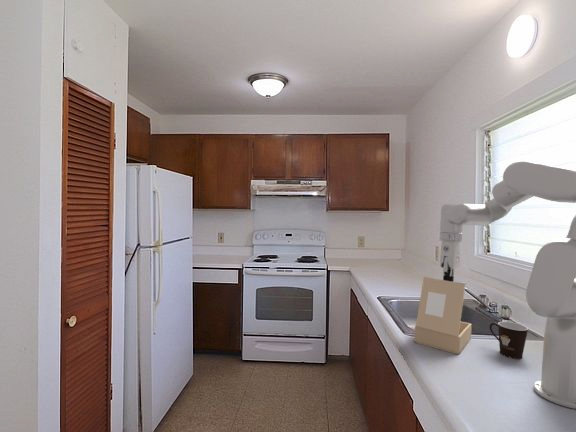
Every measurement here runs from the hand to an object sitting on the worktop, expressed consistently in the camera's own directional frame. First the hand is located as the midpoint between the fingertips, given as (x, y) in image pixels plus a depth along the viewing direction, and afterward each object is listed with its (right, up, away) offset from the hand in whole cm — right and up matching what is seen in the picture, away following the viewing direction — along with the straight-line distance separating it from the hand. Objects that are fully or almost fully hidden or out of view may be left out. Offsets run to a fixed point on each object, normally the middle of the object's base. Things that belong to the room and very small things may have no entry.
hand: (448, 286), depth 130 cm
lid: (-6, -6, -6) cm, 10 cm away
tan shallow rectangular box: (-2, -20, -1) cm, 20 cm away
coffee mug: (+16, -21, -10) cm, 29 cm away
